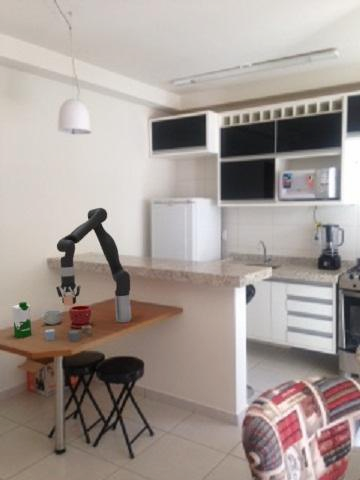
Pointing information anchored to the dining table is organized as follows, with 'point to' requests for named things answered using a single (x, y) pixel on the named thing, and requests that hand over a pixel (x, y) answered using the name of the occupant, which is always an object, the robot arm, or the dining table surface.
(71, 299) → the terracotta cube
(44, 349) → the dining table surface
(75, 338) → the charcoal cube
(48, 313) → the teacup
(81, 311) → the plant pot
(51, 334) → the slate blue cube
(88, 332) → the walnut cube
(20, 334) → the milk carton
